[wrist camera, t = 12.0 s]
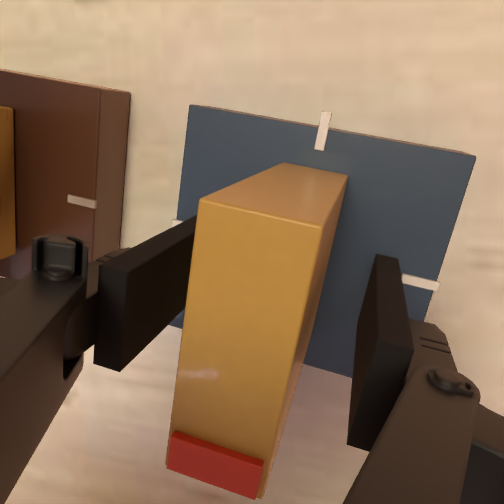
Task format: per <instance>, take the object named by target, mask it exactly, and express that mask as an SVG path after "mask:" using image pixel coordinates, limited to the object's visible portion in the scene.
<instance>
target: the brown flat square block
mask: <svg viewBox="0 0 504 504" xmlns="http://www.w3.org/2000/svg"><path fill="white" fill-rule="evenodd" d="M129 103H130V93H129V92H127V91H121V90H116V89H110V88H105V87H99V86H93V85H88V84H82V83H77V82H71V81H66V80H60V79H54V78H49V77H43V76H38V75H32V74H27V73H21V72H15V71H10V70H4V69H0V106H5V107H10V108H13V121H14V175H15V229H16V254H14V255H11V256H9V257H6V258H3V259H0V276H2V277H5V278H11V279H20V280H21V279H22V278H23V277H25V276H26V275H27V274H28V273H29V272H31V271H32V239H33V238H35V237H38V236H42V235H48V234H64V235H72V236H77V237H80V238H83V239H85V240H87V242H88V243H89V257H88V263H90V262H92V261H96V259H98V258H100V257H102V256H103V257H104V255H106V254H108V253H110V252H112V251H114V250H119V242H120V228H121V214H122V200H123V186H124V172H125V158H126V144H127V130H128V116H129Z"/></svg>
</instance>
